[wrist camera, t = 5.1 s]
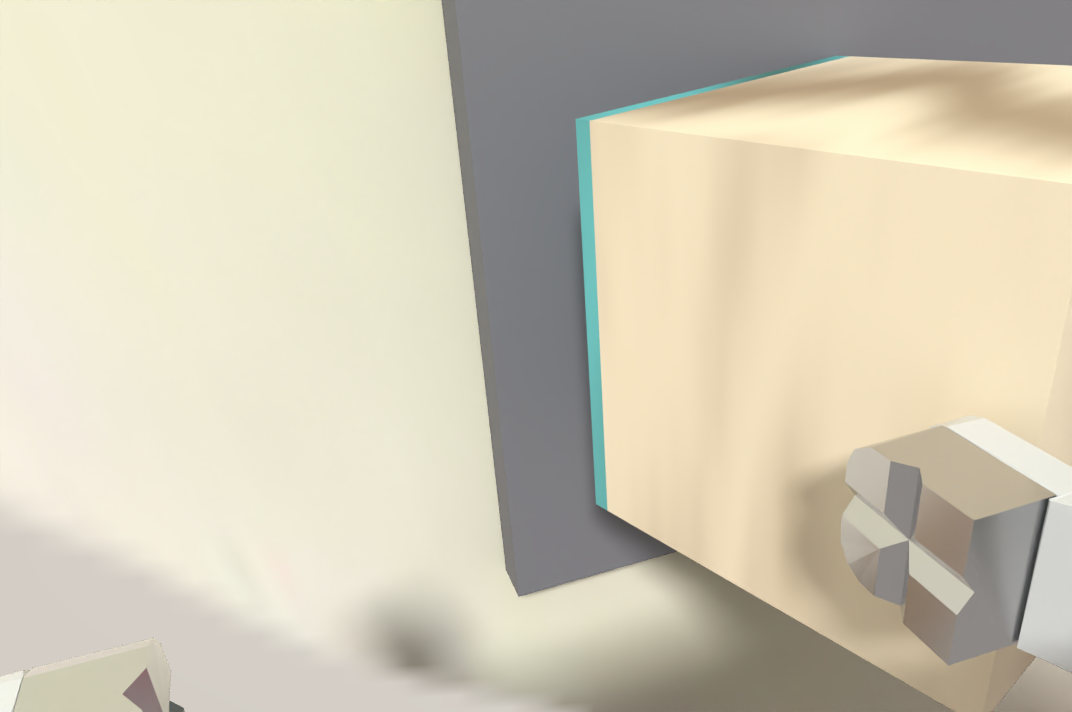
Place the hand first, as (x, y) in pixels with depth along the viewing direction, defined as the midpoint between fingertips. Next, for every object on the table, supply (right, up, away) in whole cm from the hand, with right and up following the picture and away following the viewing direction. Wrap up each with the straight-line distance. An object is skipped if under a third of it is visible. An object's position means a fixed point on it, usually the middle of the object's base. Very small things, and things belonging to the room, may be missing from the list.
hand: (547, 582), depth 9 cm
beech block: (+3, +4, +8) cm, 9 cm away
